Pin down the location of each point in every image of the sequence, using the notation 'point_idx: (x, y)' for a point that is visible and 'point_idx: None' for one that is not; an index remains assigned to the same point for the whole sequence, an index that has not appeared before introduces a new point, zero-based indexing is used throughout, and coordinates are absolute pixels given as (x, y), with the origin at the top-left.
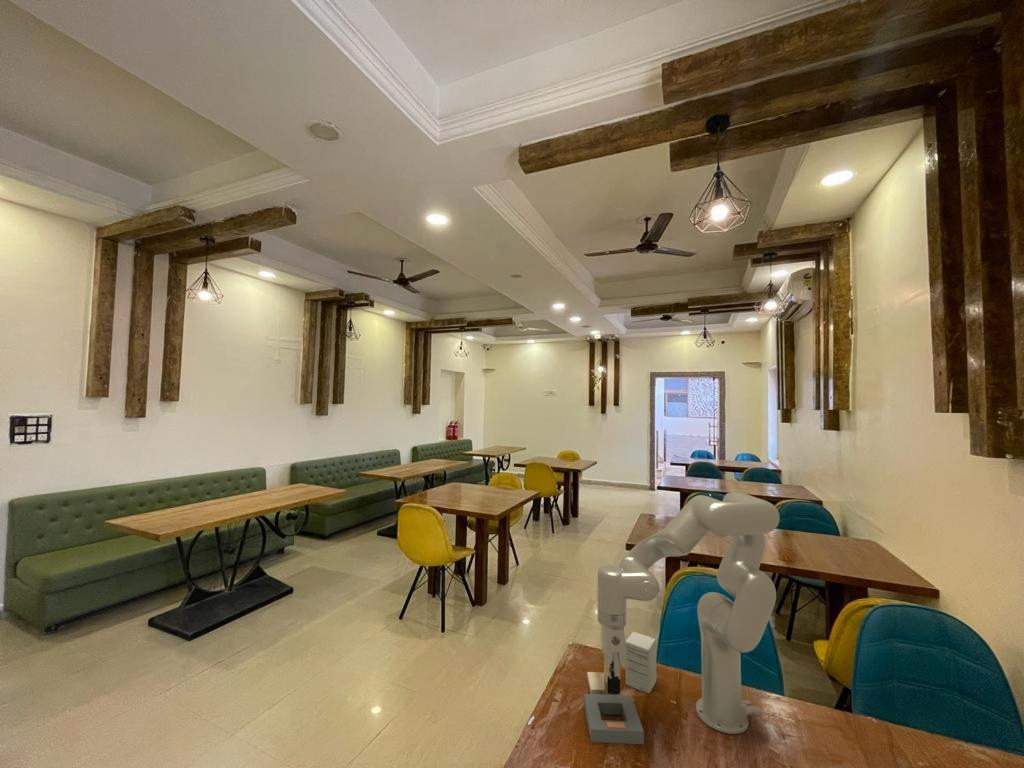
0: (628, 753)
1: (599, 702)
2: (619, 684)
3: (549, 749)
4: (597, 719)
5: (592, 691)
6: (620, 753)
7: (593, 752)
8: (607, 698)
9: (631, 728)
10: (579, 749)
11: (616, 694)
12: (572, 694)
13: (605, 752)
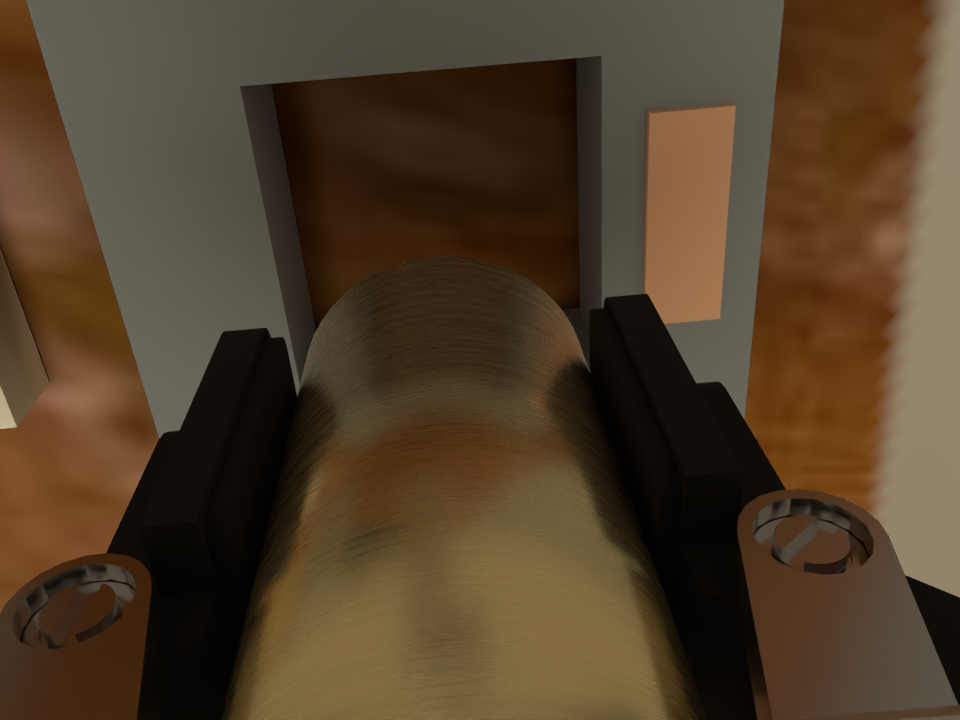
0: (856, 63)
1: (295, 373)
2: (692, 394)
3: None
4: None
5: (21, 400)
6: (849, 150)
7: (817, 389)
8: (187, 274)
9: (736, 19)
10: None
11: (568, 321)
12: (82, 544)
13: (825, 291)
